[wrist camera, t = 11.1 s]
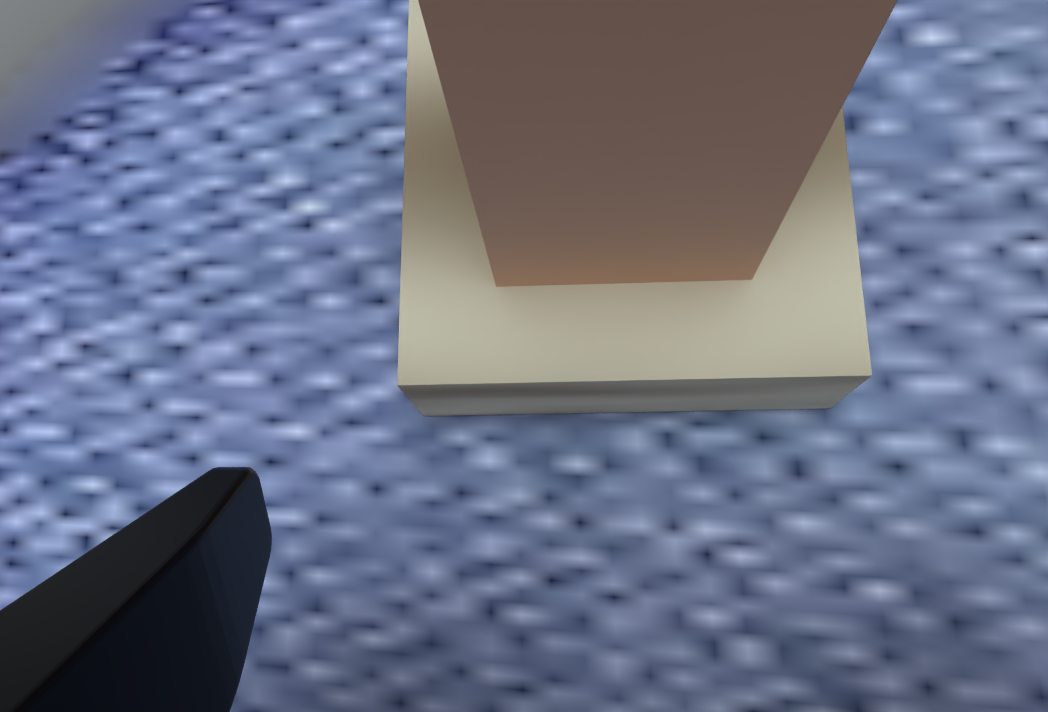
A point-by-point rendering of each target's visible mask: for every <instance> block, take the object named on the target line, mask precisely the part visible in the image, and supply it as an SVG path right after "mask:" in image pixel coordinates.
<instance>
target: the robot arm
mask: <svg viewBox="0 0 1048 712" xmlns="http://www.w3.org/2000/svg"><path fill="white" fill-rule="evenodd" d="M271 545H272V534H271V527H270V522H269V518H268V514H267V509H266V505H265V501H264V496H263V492H262V487H261V483H260V479H259V477H258V475H257V473H256V471H254V470H253V469H251V468H250V467H217V468H213V469H211V470H210V471H208V472H206V473H205V474H203V475H202V476H200V477H199V478H197V479H196V480H194V481H193V482H191V483H190V484H188V485H187V486H186V487H184V488H183V489H181V490H180V491H178V492H177V493H175V494H174V495H172V496H171V497H169V498H168V499H166V500H165V501H163V502H162V503H160V504H159V505H157V506H156V507H154V508H153V509H151V510H150V511H148V512H147V513H145V514H144V515H142V516H141V517H139V518H138V519H136V520H135V521H133V522H132V523H130V524H129V525H127V526H126V527H124V528H123V529H121V530H120V531H118V532H117V533H115V534H114V535H112V536H111V537H109V538H108V539H106V540H105V541H103V542H102V543H100V544H99V545H97V546H96V547H94V548H93V549H91V550H90V551H88V552H87V553H86V554H84V555H83V556H81V557H80V558H78V559H77V560H75V561H74V562H72V563H71V564H69V565H68V566H66V567H65V568H63V569H62V570H60V571H59V572H57V573H56V574H54V575H53V576H51V577H50V578H48V579H47V580H45V581H44V582H42V583H41V584H39V585H38V586H36V587H35V588H33V589H32V590H30V591H29V592H27V593H26V594H24V595H23V596H21V597H20V598H18V599H17V600H15V601H14V602H12V603H11V604H9V605H8V606H6V607H5V608H3V609H2V610H0V712H230V709H231V706H232V703H233V700H234V697H235V694H236V691H237V688H238V685H239V682H240V678H241V674H242V670H243V666H244V663H245V658H246V654H247V650H248V646H249V642H250V637H251V633H252V629H253V625H254V621H255V616H256V612H257V608H258V604H259V599H260V595H261V591H262V587H263V583H264V578H265V574H266V570H267V566H268V562H269V557H270V553H271Z"/></svg>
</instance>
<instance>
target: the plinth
mask: <svg viewBox="0 0 1048 712" xmlns="http://www.w3.org/2000/svg"><path fill="white" fill-rule="evenodd" d="M871 376H872V371H871V362H870V353H869V344H868V335H867V326H866V317H865V308H864V299H863V290H862V281H861V271H860V262H859V253H858V244H857V235H856V226H855V217H854V208H853V199H852V190H851V181H850V172H849V162H848V153H847V144H846V135H845V126H844V117H843V108H841V110H840V112H839V114H838V116H837V118H836V119H835V121H834V123H833V125H832V127H831V129H830V131H829V133H828V135H827V137H826V139H825V141H824V142H823V144H822V146H821V148H820V150H819V152H818V154H817V156H816V158H815V160H814V162H813V164H812V166H811V167H810V169H809V171H808V173H807V175H806V177H805V179H804V181H803V183H802V185H801V187H800V189H799V190H798V192H797V194H796V196H795V198H794V200H793V202H792V204H791V206H790V208H789V210H788V212H787V213H786V215H785V217H784V219H783V221H782V223H781V225H780V227H779V229H778V231H777V233H776V235H775V237H774V238H773V240H772V242H771V244H770V246H769V248H768V250H767V252H766V254H765V256H764V258H763V260H762V261H761V263H760V265H759V267H758V269H757V271H756V273H755V275H754V277H753V279H752V280H726V281H690V282H653V283H616V284H580V285H543V286H506V287H496V285H495V281H494V277H493V274H492V270H491V266H490V262H489V259H488V255H487V251H486V248H485V244H484V240H483V237H482V233H481V229H480V226H479V222H478V218H477V215H476V211H475V207H474V204H473V200H472V196H471V193H470V189H469V185H468V182H467V178H466V174H465V171H464V167H463V163H462V160H461V156H460V152H459V149H458V145H457V141H456V138H455V134H454V130H453V127H452V123H451V119H450V116H449V112H448V108H447V105H446V101H445V97H444V94H443V90H442V86H441V83H440V79H439V75H438V72H437V68H436V64H435V61H434V57H433V53H432V50H431V46H430V42H429V39H428V35H427V31H426V28H425V24H424V20H423V16H422V13H421V9H420V5H419V2H418V0H409V24H408V57H407V89H406V121H405V154H404V186H403V218H402V250H401V283H400V315H399V347H398V380H397V386H398V387H399V388H400V389H401V390H402V391H403V393H404V394H405V395H406V396H407V397H408V399H409V400H410V401H411V402H412V403H413V404H414V406H415V407H416V408H417V409H418V410H419V412H420V413H421V414H422V415H423V416H457V415H510V414H563V413H617V412H670V411H723V410H776V409H829V408H831V407H833V406H834V405H835V404H836V403H838V402H839V401H840V400H842V399H843V398H844V397H845V396H847V395H848V394H849V393H850V392H852V391H853V390H854V389H855V388H857V387H858V386H859V385H860V384H862V383H863V382H864V381H866V380H867V379H868V378H869V377H871Z"/></svg>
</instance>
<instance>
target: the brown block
mask: <svg viewBox="0 0 1048 712" xmlns="http://www.w3.org/2000/svg"><path fill="white" fill-rule="evenodd" d="M897 1H898V0H418V2H419V5H420V9H421V13H422V16H423V20H424V24H425V28H426V31H427V35H428V39H429V42H430V46H431V50H432V53H433V57H434V61H435V64H436V68H437V72H438V75H439V79H440V83H441V86H442V90H443V94H444V97H445V101H446V105H447V108H448V112H449V116H450V119H451V123H452V127H453V130H454V134H455V138H456V141H457V145H458V149H459V152H460V156H461V160H462V163H463V167H464V171H465V174H466V178H467V182H468V185H469V189H470V193H471V196H472V200H473V204H474V207H475V211H476V215H477V218H478V222H479V226H480V229H481V233H482V237H483V240H484V244H485V248H486V251H487V255H488V259H489V262H490V266H491V270H492V274H493V277H494V281H495V285H496V287H506V286H543V285H580V284H616V283H653V282H690V281H726V280H752V279H753V277H754V275H755V273H756V271H757V269H758V267H759V265H760V263H761V261H762V260H763V258H764V256H765V254H766V252H767V250H768V248H769V246H770V244H771V242H772V240H773V238H774V237H775V235H776V233H777V231H778V229H779V227H780V225H781V223H782V221H783V219H784V217H785V215H786V213H787V212H788V210H789V208H790V206H791V204H792V202H793V200H794V198H795V196H796V194H797V192H798V190H799V189H800V187H801V185H802V183H803V181H804V179H805V177H806V175H807V173H808V171H809V169H810V167H811V166H812V164H813V162H814V160H815V158H816V156H817V154H818V152H819V150H820V148H821V146H822V144H823V142H824V141H825V139H826V137H827V135H828V133H829V131H830V129H831V127H832V125H833V123H834V121H835V119H836V118H837V116H838V114H839V112H840V110H841V108H842V106H843V104H844V102H845V100H846V98H847V96H848V95H849V93H850V91H851V89H852V87H853V85H854V83H855V81H856V79H857V77H858V75H859V73H860V71H861V70H862V68H863V66H864V64H865V62H866V60H867V58H868V56H869V54H870V52H871V50H872V48H873V47H874V45H875V43H876V41H877V39H878V37H879V35H880V33H881V31H882V29H883V27H884V25H885V24H886V22H887V20H888V18H889V16H890V14H891V12H892V10H893V8H894V6H895V4H896V2H897Z"/></svg>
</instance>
